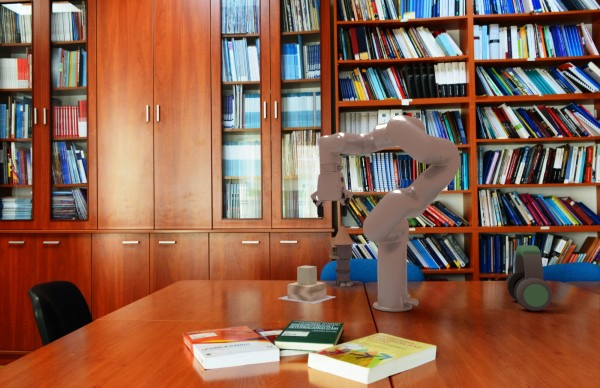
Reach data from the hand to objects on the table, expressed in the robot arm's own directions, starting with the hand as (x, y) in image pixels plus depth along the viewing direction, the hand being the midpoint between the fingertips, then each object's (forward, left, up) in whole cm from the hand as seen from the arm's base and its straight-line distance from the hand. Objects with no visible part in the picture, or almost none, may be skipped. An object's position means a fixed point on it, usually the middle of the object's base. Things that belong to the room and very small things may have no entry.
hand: (332, 217), depth 181 cm
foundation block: (+7, +7, -29) cm, 30 cm away
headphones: (-60, -25, -30) cm, 72 cm away
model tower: (+12, -25, -30) cm, 40 cm away
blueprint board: (+7, +7, -30) cm, 31 cm away
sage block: (+6, +7, -24) cm, 26 cm away
